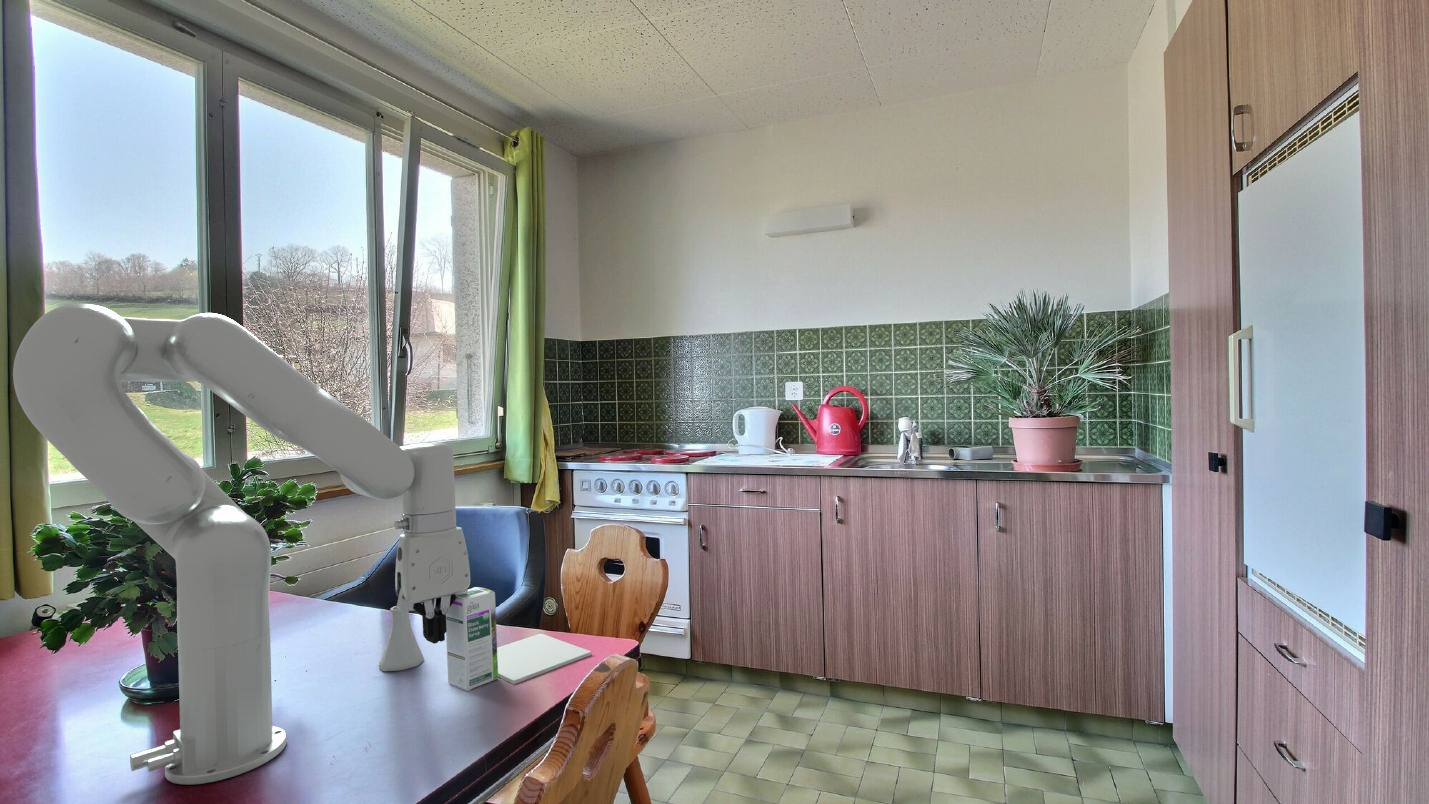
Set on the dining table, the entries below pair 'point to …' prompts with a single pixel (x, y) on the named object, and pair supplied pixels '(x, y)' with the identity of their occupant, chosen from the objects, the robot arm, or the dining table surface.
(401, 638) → the flask
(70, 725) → the dining table surface
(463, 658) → the syrup box
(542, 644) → the mat
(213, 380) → the robot arm
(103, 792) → the dining table surface
